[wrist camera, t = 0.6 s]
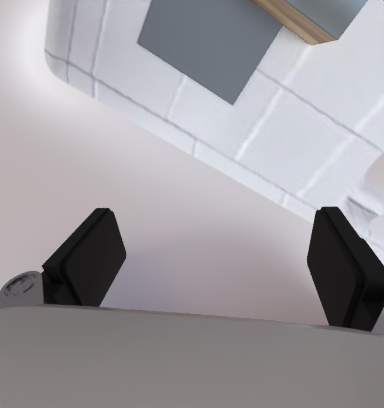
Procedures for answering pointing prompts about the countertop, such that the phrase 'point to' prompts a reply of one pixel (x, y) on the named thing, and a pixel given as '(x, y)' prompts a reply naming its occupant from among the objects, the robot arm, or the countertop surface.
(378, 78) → the countertop surface
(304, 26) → the oak slab
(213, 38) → the mat
